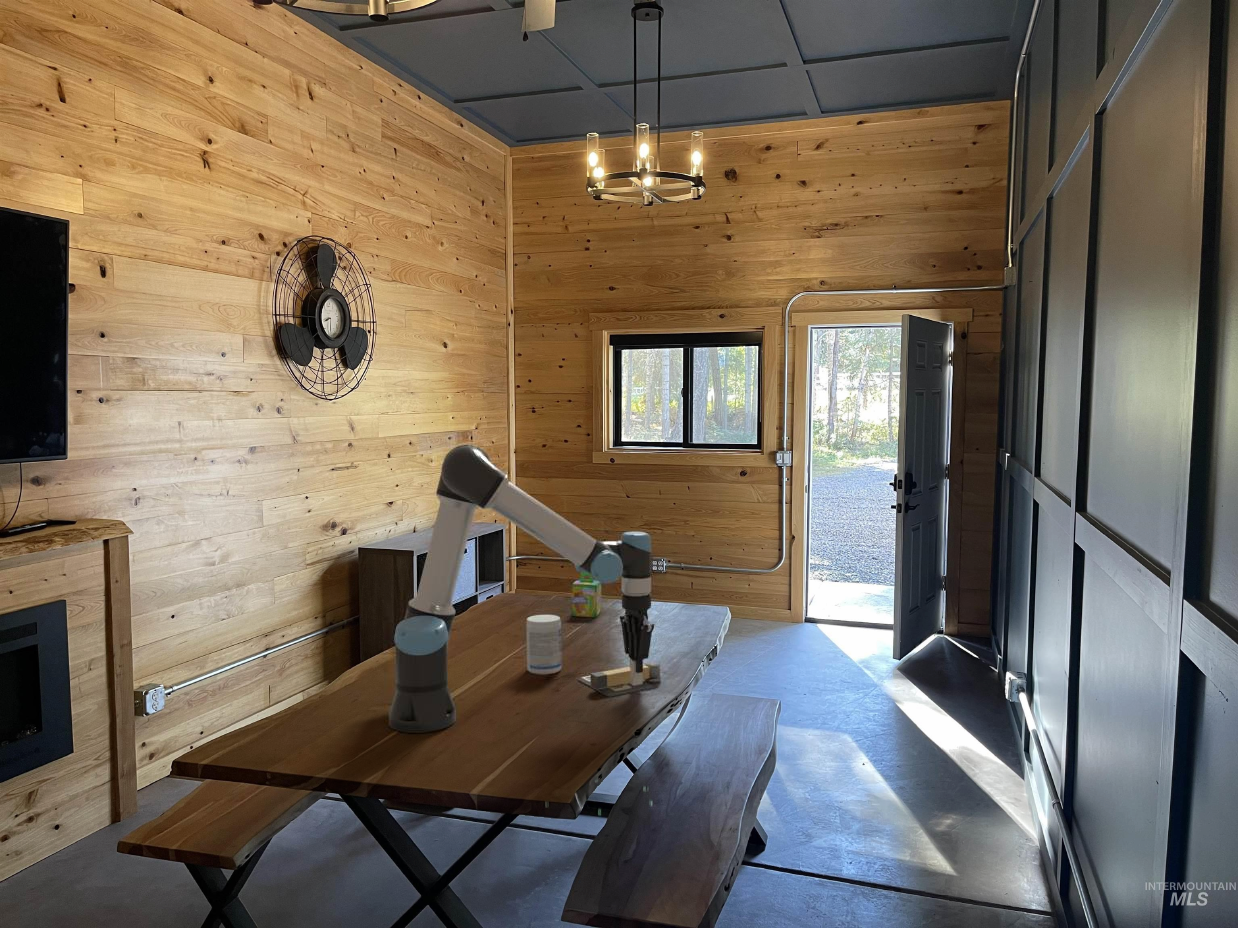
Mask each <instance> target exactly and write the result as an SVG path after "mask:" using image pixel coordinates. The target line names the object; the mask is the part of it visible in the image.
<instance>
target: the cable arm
mask: <svg viewBox="0 0 1238 928" xmlns="http://www.w3.org/2000/svg"><path fill="white" fill-rule="evenodd" d="M590 676H591V686H592V687H594V688H596V689H600V688H605V687H607V686H613V685H618V684H623V683H628V682H631V669H630V666H627V667H621V668H615V669H609V670H604V671H597V672H591V673H590ZM660 676H661V664H660V663H659V662H653V661H651V662H646V663H644V664H643V680H644V679H648V678H657V677H660Z"/></svg>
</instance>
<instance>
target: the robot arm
mask: <svg viewBox="0 0 1238 928" xmlns="http://www.w3.org/2000/svg"><path fill="white" fill-rule="evenodd" d="M440 470H441V472H440V476H439V481H438V484H437V488H436V493H435V495H436V497H437V499H438V500H439V507H438V509H437V514H436V517H435V523H434V526H433V529H432V530H433V531H432V534H431V539H430V542H429V546H428V550H427V554H426V558H425V562H424V567H423V569H422V574H421V576H420V581H419V585H418V589H417V594H416V596H415V597H414V598H412V599H410V600H409V601H408V603H407V607H406V611H405V616H404V619H403V620H402V621H399V623H398V624H397V625H396V627H395V634H394V637H393V639H394V644H395V645H394V646H395V694H394V697H393V700H392V703H391V706H390V710H389V713H388V726H389V727H390V728H391V729H392V730H394V731H396V732H401V733H406V734H409V733H410V734H419V733H420V734H422V733H431V732H436V731H439V730H443V729H446V728H448V727H450V726H451V725H454V723H455V721H456V720H457V715H456V714H457V712H456V711H457V710H456V707H455V704H454V701H453V698H452V695H451V691H450V690H449V686H448V684H449V683H448V649H449V640H450V637H451V632H452V627H453V624H454V619H455V615H456V609H455V608H454V606H453V604H452V602H453V597H454V594H455V590H456V586H457V582H458V578H459V574H460V570H461V567H462V562H463V558H464V555H465V551H466V547H467V543H468V538H469V535H470V532H471V527H472V523H473V518H474V515H475V511H476V510H477V509H479V508H481V509H483V510H486V509H491V510H492V511H494V512H496V513H497V514H498V515H500V516H502V517H503V518H504V519H506V520H508V521H509V522H511V523H512V524H514V525H515V526H517V527H518V528H520V529H521V530H523V531H524V532H526V533H527V534H529V535H530V536H531V537H533V538H535V539H537V541H540V542H541V543H542V544H544V545H546V546H547V547H548V548H550V549H552V550H553V551H555V552H556V553H558V554H559V555H561V556H562V557H564V558H565V559H566V560H569V561H570V562H571V563H573V564H574V567H575V570H576V571H577V572H580V573H581V572H587V573H589V574H591V575H592V576H593V580H597V581H599V582H601V584H605V585H606V584H613V583H615V582H616V581H618V580H619V579H620V578H621V592H622V594H621V608H622V609H623V610H625V611H624V615H620V616H619V622H620V624H621V631H622V639H623V640H622V641H623V647H624V653H625V654H626V655H628V658H629V663H630V664H629V667H630V669H631V685H633V686H634V685H639V684H643V681H644V679H643V665H644V660H647V659H649V655H650V648H651V641H652V634H653V631H654V629H655V625H654V623H650V622H649V615H648V610H650V609H651V608H652V594H651V591H652V553H653V552H652V539H651V535H650V534H649V533H647V532H644V531H626V532H623V533H622V534H621V538H620V540H615V541H614V540H610V541H609V540H608V541H603V540H602V541H598V540H597V539H595V538H594V537H592V536H591V535H589V534H588V533H587V532H585V531H583V530H582V529H580V528H579V527H577V526H576V525H574V524H573V523H571V522H570V521H569V520H567V519H565V518H564V517H562V516H561V515H559V514H558V513H557V512H555V511H554V510H553V509H550V508H549V507H548V506H546V505H544V504H543V503H542V502H540V501H539V500H537V499H536V498H534V497H533V496H531V494H528V493H527V492H525V491H524V490H522V489H521V488H520V487H518V486H516V485H515V484H513V483H512V482H510V481H509V478H508V474H507V473H505V472H503V471H502V470H500V468H498V467H497V466H496V465H494V464H493V463H492V462H491V459H490V457H489V456H488V454H487V453H486V452H485V451H484V450H483V449H482V448H480V447H477V446H475V445H473V444H471V445H470V444H462V445H458V446H456V447H453V448H452V449H450V451H449V452H448V453H447V454H446V455H445V456H444V459H443V462H442V464H441V469H440Z"/></svg>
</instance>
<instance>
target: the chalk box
mask: <svg viewBox="0 0 1238 928" xmlns="http://www.w3.org/2000/svg"><path fill="white" fill-rule="evenodd" d="M586 576H589V578H588V579H587V578H586V579H585V577H586ZM601 610H602V583H601V582H599V581H597V580H596V579H594V577H593V576H592V575H591V574H589V573H587V572H580V578H579V579H577V580H575V581H574V582H573V583H572V584H571V617H579V618H580V617H583V618H597V617H598V616H599V614H601V612H602V611H601Z"/></svg>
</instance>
